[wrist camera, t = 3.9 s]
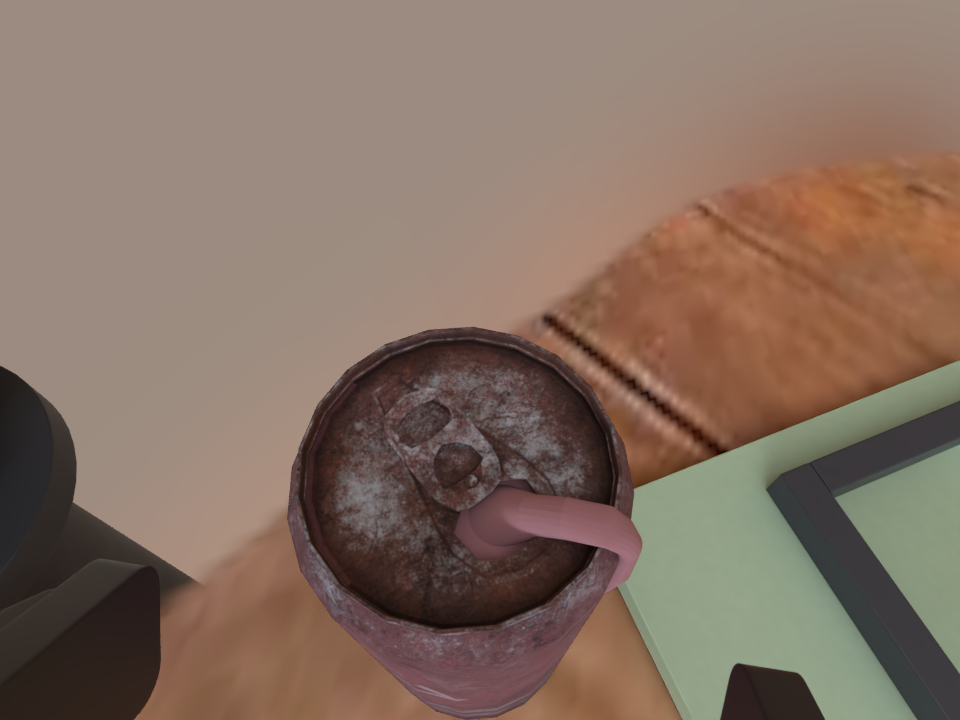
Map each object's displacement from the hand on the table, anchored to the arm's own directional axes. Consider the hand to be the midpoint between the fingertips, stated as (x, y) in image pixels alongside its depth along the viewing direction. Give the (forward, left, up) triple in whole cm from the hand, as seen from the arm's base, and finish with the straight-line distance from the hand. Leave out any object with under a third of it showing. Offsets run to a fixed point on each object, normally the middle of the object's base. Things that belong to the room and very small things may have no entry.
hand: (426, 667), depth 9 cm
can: (+2, +3, -14) cm, 15 cm away
